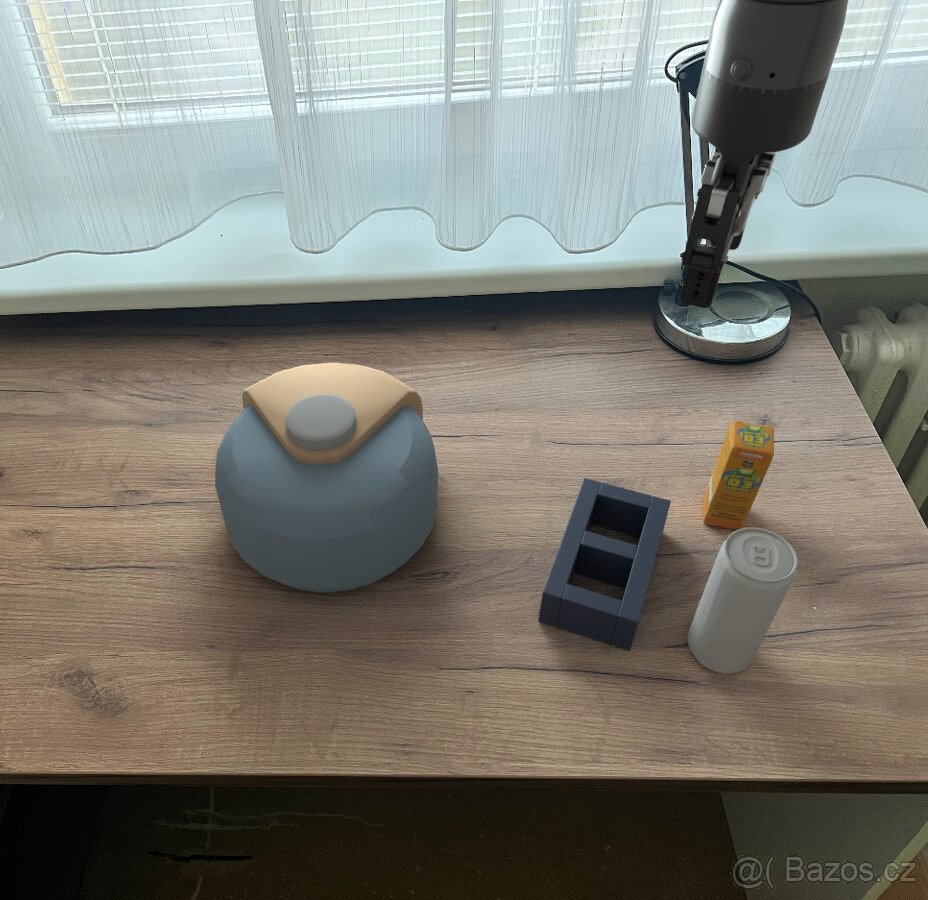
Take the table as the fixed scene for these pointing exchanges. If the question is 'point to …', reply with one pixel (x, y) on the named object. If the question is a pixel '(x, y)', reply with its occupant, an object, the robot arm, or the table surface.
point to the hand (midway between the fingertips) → (710, 273)
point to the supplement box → (738, 474)
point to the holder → (604, 563)
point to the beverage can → (741, 599)
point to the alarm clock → (328, 476)
